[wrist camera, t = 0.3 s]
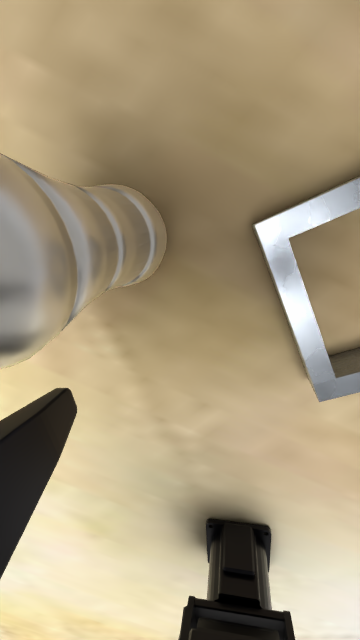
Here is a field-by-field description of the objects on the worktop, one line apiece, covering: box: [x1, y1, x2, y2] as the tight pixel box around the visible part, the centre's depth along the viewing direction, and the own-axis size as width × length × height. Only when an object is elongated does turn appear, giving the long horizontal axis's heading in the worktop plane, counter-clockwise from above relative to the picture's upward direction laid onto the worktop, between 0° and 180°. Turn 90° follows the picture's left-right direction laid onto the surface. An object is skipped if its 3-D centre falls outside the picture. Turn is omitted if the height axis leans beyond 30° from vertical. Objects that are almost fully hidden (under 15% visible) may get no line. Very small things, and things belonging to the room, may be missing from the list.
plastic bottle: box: [0, 154, 167, 369], centre depth 12 cm, size 6×7×20 cm
